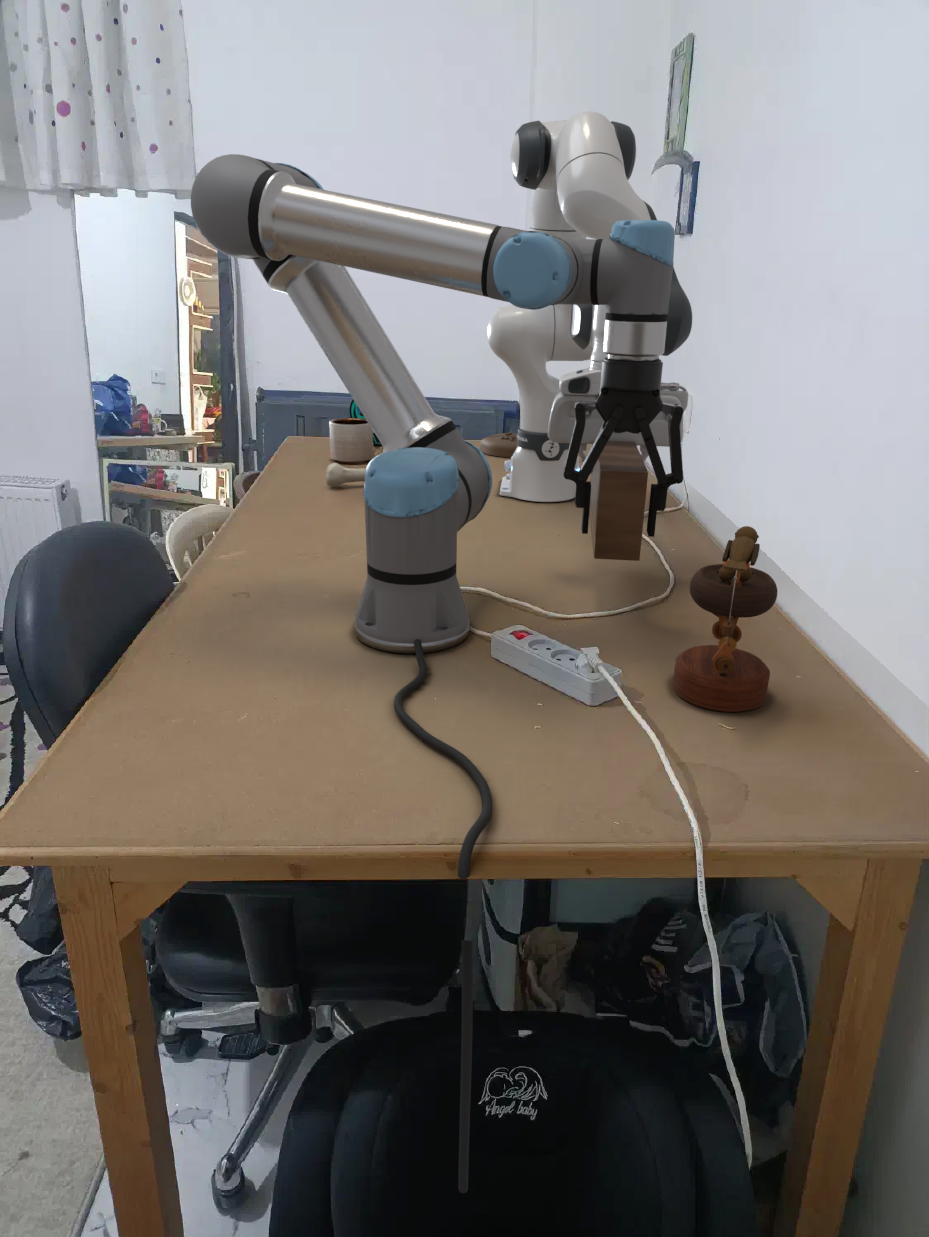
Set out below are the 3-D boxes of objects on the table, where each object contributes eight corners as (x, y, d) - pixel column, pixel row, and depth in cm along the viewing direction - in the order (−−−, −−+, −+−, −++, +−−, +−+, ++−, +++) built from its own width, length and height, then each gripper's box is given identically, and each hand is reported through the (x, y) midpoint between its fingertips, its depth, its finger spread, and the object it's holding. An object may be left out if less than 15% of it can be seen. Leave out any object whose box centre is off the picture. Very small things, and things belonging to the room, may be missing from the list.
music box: (784, 722, 91) (798, 544, 84) (680, 722, 93) (685, 548, 85) (755, 661, 105) (765, 505, 98) (665, 663, 107) (668, 509, 99)
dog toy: (415, 481, 193) (415, 459, 191) (418, 487, 188) (418, 465, 186) (325, 483, 190) (324, 461, 188) (326, 489, 184) (325, 466, 182)
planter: (327, 456, 217) (325, 418, 214) (369, 454, 220) (368, 417, 217) (334, 465, 208) (332, 425, 204) (377, 463, 211) (376, 424, 207)
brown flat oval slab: (485, 467, 208) (485, 449, 207) (478, 445, 234) (478, 430, 233) (570, 467, 209) (571, 450, 208) (554, 445, 235) (554, 430, 234)
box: (639, 561, 112) (648, 472, 108) (594, 558, 113) (600, 470, 108) (625, 510, 136) (632, 436, 131) (588, 508, 136) (593, 434, 132)
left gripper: (713, 356, 108) (692, 528, 117) (549, 352, 110) (540, 521, 118) (723, 362, 101) (700, 544, 110) (548, 357, 103) (539, 537, 112)
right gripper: (686, 380, 127) (676, 471, 133) (550, 376, 129) (545, 466, 134) (693, 385, 122) (682, 480, 127) (550, 381, 123) (545, 475, 129)
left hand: (617, 532), depth 114 cm, fingers open, 8 cm apart
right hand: (610, 473), depth 131 cm, fingers closed on box, 6 cm apart
